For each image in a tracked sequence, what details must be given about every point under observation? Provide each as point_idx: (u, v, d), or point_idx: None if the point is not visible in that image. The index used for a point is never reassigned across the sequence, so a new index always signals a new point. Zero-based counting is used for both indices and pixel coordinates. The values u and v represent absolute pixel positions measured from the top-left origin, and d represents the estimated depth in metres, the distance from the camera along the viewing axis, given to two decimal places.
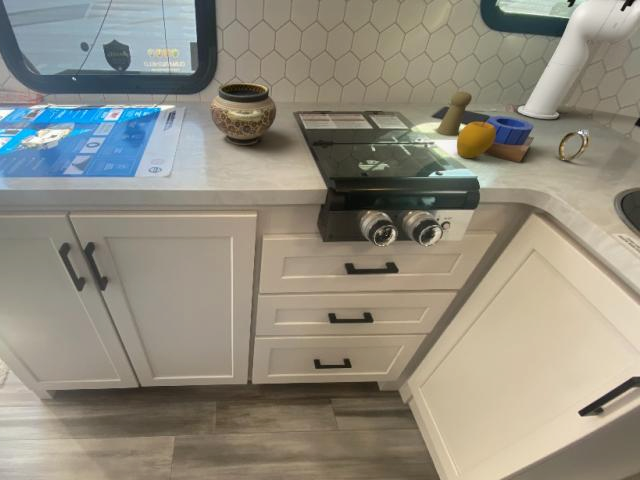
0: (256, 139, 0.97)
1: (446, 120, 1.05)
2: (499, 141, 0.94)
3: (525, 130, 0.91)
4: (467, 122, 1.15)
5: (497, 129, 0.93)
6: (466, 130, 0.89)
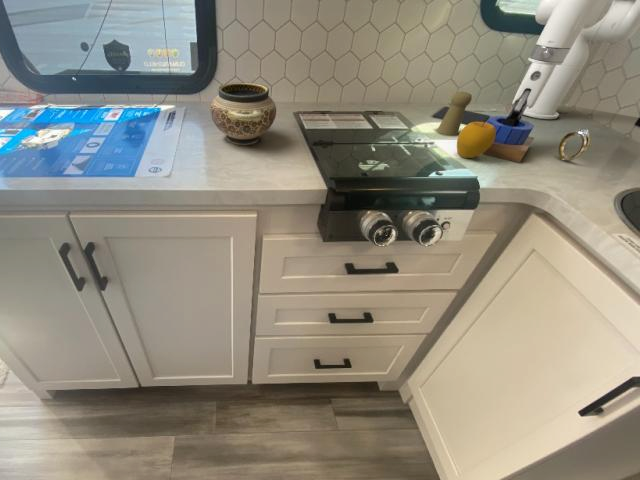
0: (256, 139, 0.97)
1: (446, 120, 1.05)
2: (499, 141, 0.94)
3: (525, 130, 0.91)
4: (467, 122, 1.15)
5: (497, 129, 0.93)
6: (466, 130, 0.89)
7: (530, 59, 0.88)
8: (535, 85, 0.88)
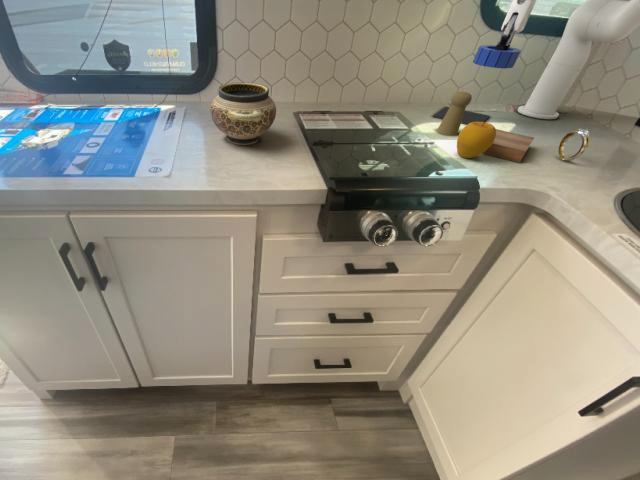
0: (256, 139, 0.97)
1: (446, 120, 1.05)
2: (490, 65, 1.02)
3: (513, 52, 0.99)
4: (467, 122, 1.15)
5: (488, 53, 1.01)
6: (466, 130, 0.89)
7: None
8: (521, 8, 0.95)
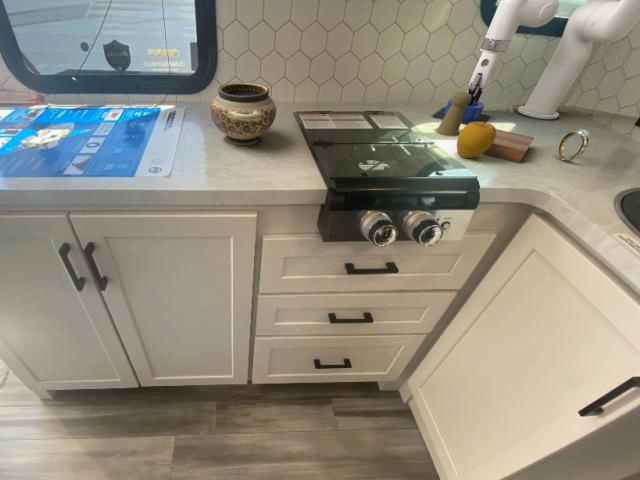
0: (256, 139, 0.97)
1: (446, 120, 1.05)
2: None
3: (477, 108, 1.13)
4: (467, 122, 1.15)
5: None
6: (466, 130, 0.89)
7: (481, 49, 1.10)
8: (485, 70, 1.10)
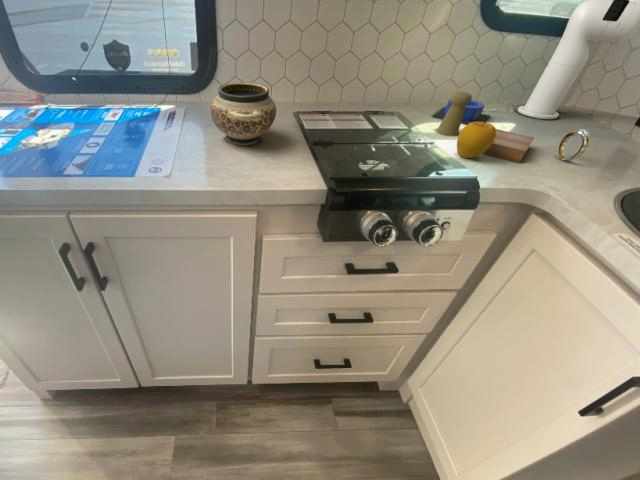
0: (256, 139, 0.97)
1: (446, 120, 1.05)
2: None
3: (477, 108, 1.13)
4: (467, 122, 1.15)
5: None
6: (466, 130, 0.89)
7: None
8: None
